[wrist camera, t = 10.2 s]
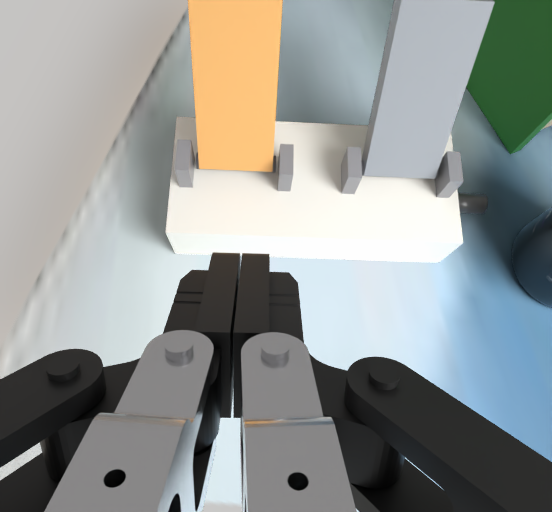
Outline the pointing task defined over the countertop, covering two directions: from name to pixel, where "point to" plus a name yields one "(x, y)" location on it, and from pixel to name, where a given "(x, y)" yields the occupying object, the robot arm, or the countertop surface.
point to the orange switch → (235, 82)
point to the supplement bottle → (535, 258)
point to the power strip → (315, 201)
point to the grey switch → (422, 84)
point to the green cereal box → (515, 71)
